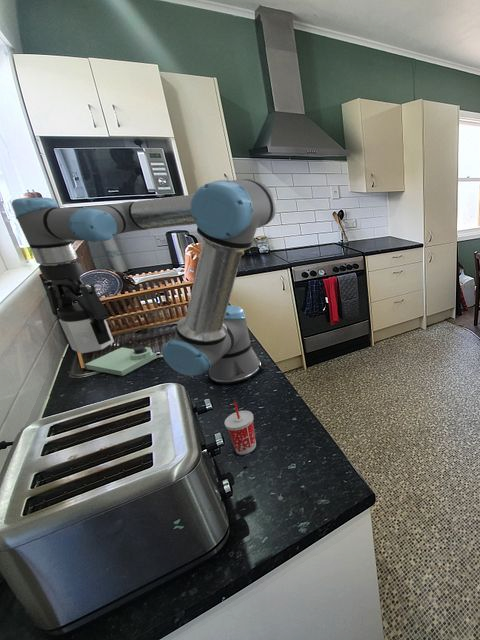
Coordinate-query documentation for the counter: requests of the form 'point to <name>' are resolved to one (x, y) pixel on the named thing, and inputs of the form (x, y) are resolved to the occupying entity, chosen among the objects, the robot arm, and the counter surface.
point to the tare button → (139, 349)
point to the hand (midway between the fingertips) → (91, 340)
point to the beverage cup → (241, 430)
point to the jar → (80, 329)
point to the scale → (121, 361)
